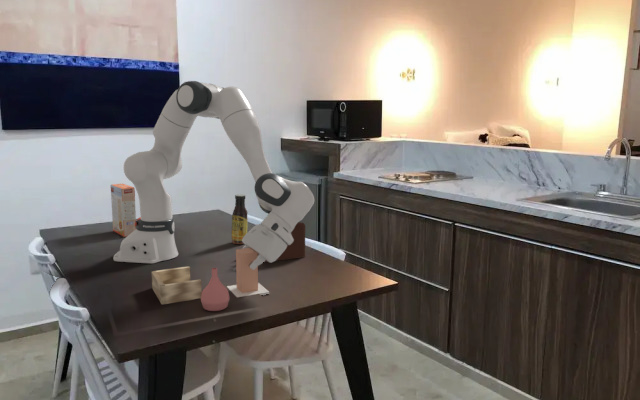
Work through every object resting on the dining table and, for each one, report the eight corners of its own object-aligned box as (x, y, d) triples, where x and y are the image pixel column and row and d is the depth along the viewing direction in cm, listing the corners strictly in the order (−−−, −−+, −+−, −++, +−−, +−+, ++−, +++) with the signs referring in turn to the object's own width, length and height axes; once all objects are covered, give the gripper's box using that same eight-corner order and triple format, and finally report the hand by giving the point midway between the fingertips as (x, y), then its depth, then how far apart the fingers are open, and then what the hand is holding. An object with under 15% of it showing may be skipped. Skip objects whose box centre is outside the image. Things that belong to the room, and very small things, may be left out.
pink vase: (204, 318, 134) (203, 274, 131) (198, 307, 140) (196, 266, 138) (233, 313, 137) (232, 270, 135) (225, 303, 144) (224, 262, 141)
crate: (161, 307, 140) (160, 286, 139) (152, 290, 153) (151, 271, 152) (201, 300, 146) (201, 280, 145) (189, 284, 158) (188, 266, 157)
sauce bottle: (228, 244, 205) (227, 195, 201) (236, 240, 211) (236, 193, 207) (242, 245, 203) (242, 196, 199) (250, 242, 208) (250, 194, 205)
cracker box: (137, 235, 216) (135, 187, 212) (123, 237, 212) (120, 188, 209) (126, 229, 227) (123, 182, 223) (112, 231, 223) (109, 184, 219)
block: (242, 293, 150) (241, 253, 147) (236, 287, 154) (235, 249, 152) (258, 290, 152) (257, 251, 150) (252, 285, 156) (251, 247, 154)
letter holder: (305, 257, 189) (306, 220, 186) (255, 264, 180) (254, 225, 177) (294, 250, 198) (294, 215, 195) (245, 256, 189) (245, 219, 186)
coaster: (237, 299, 146) (237, 297, 146) (226, 288, 155) (226, 286, 155) (269, 294, 151) (269, 291, 151) (257, 283, 160) (257, 281, 160)
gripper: (256, 215, 161) (226, 248, 159) (282, 229, 144) (249, 267, 141) (269, 227, 164) (240, 260, 162) (296, 242, 147) (264, 279, 144)
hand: (245, 263), depth 151 cm, fingers open, 8 cm apart
